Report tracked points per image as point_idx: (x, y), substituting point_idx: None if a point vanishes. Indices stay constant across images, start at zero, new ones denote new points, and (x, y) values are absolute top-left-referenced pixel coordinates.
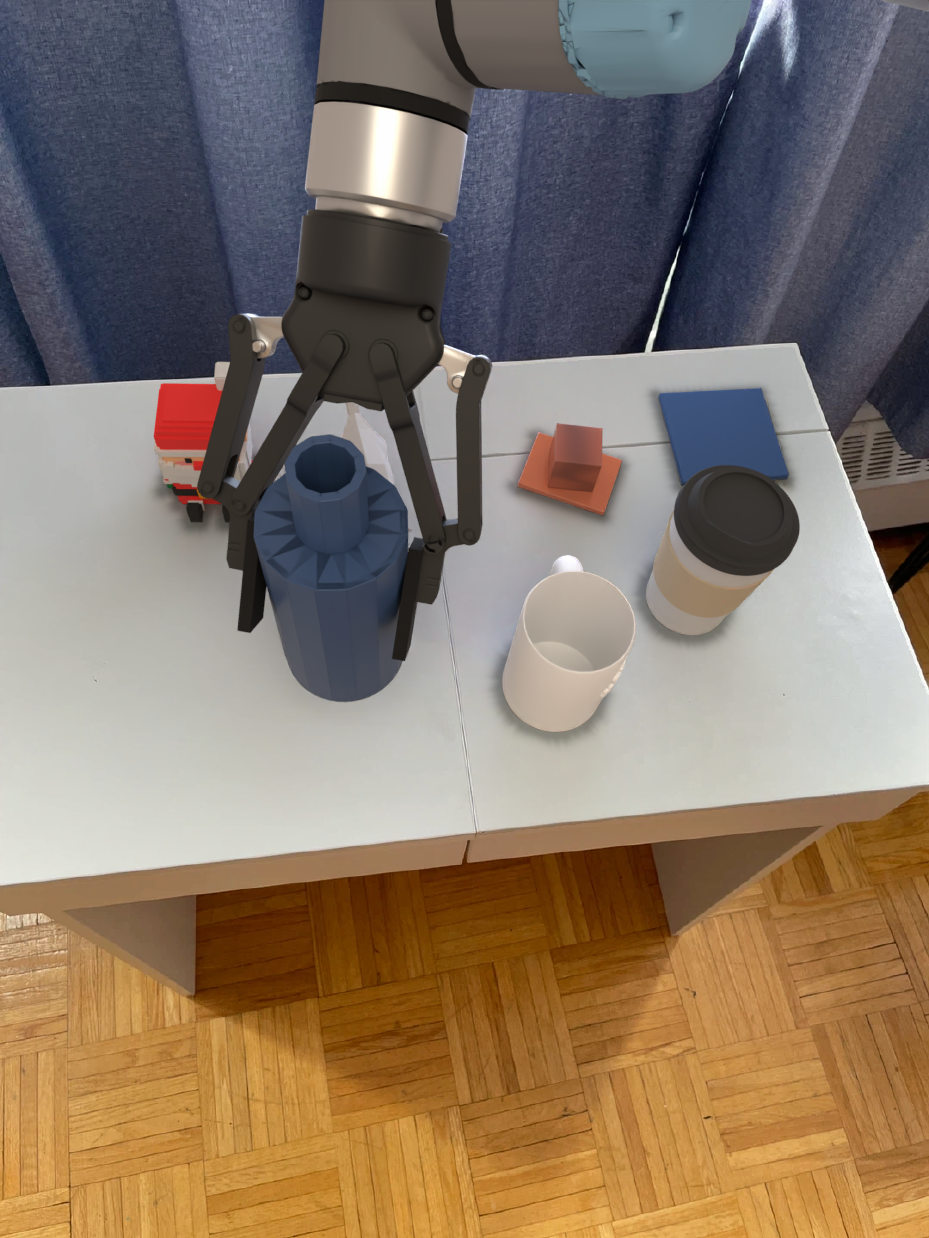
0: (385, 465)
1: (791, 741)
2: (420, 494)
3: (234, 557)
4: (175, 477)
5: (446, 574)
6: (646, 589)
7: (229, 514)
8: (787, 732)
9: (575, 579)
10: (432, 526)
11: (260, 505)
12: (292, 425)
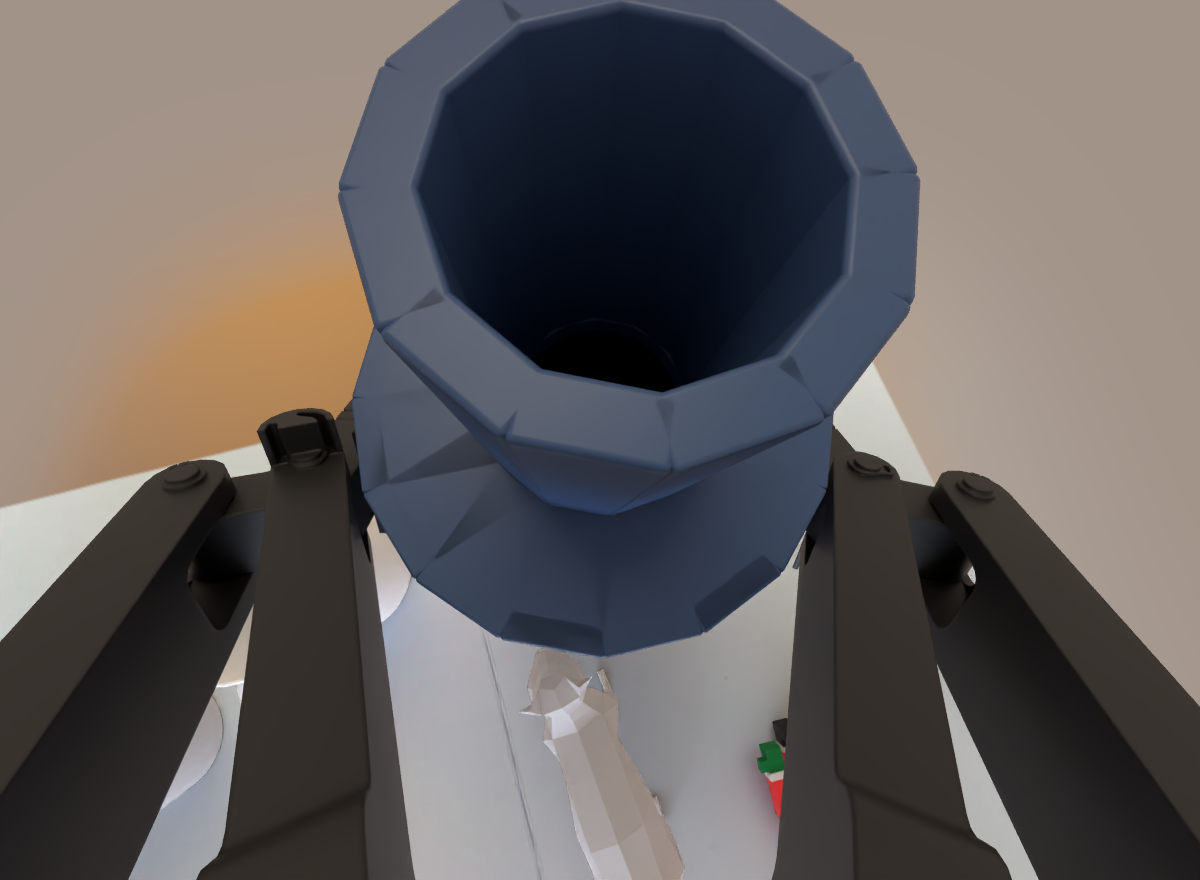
0: (589, 850)
1: (53, 554)
2: (312, 553)
3: None
4: None
5: (495, 702)
6: (219, 739)
7: (786, 727)
8: (56, 565)
9: (241, 675)
10: (301, 484)
11: (826, 419)
12: (867, 716)
